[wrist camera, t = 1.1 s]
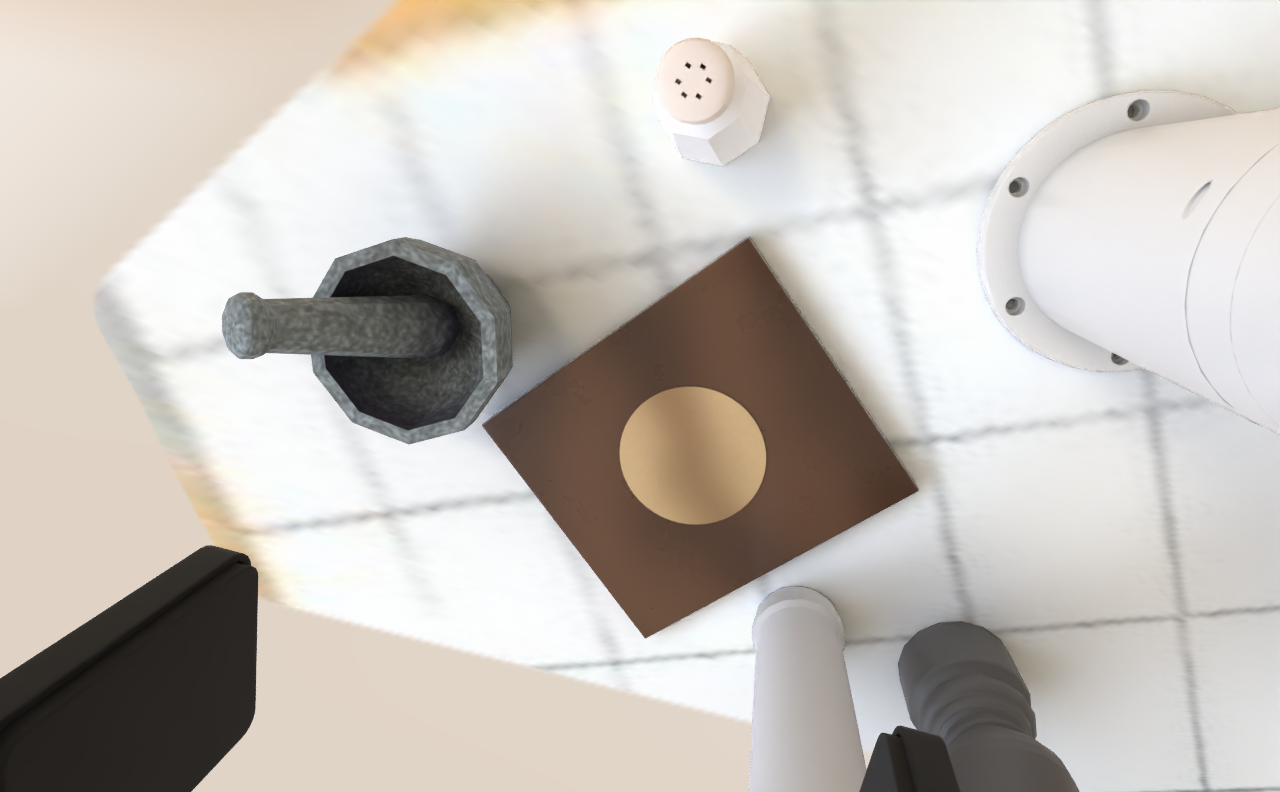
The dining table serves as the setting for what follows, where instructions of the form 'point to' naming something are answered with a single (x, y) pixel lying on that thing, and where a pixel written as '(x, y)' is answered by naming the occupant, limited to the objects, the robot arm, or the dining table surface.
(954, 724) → the candle holder
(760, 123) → the pepper shaker
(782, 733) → the bottle
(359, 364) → the mortar and pestle
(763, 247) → the dining table surface
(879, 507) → the board
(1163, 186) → the robot arm
